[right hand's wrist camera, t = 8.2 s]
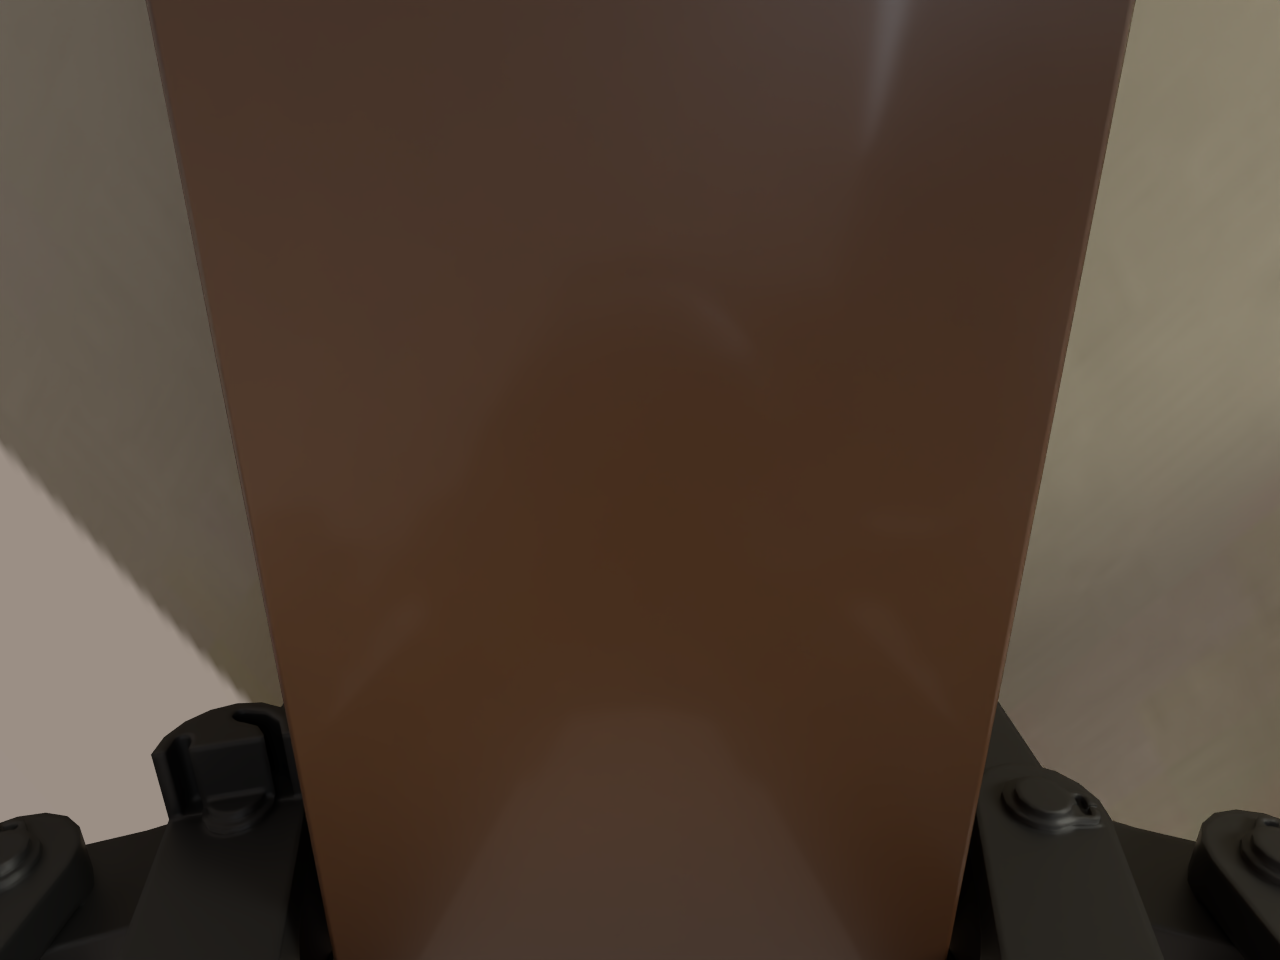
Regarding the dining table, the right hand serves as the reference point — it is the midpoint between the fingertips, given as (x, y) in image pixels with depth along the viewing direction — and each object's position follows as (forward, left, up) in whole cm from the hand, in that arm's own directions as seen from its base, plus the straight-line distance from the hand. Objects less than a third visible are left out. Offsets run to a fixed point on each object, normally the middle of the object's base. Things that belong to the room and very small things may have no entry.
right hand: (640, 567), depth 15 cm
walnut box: (-9, 0, -1) cm, 9 cm away
